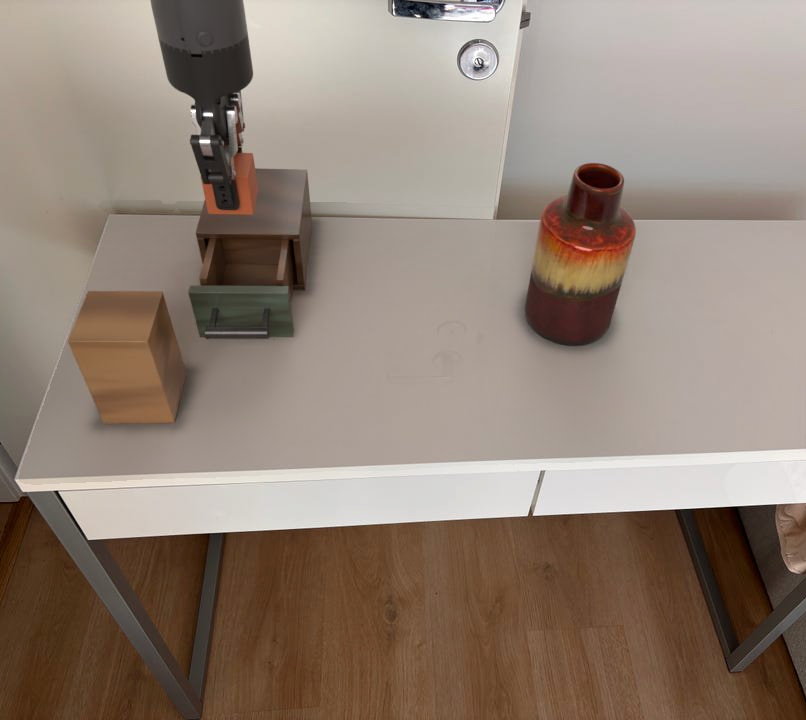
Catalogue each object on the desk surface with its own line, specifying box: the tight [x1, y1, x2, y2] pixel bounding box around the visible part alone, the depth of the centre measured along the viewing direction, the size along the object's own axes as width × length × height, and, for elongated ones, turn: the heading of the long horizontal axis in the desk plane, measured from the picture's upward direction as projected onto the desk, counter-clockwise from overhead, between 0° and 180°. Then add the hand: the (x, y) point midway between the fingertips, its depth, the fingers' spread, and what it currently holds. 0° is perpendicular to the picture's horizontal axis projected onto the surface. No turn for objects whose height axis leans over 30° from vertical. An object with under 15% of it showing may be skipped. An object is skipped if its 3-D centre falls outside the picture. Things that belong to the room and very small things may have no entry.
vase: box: [524, 162, 637, 347], centre depth 87 cm, size 11×11×20 cm
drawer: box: [187, 238, 296, 340], centre depth 87 cm, size 17×10×7 cm, turn 5°
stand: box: [67, 290, 187, 425], centre depth 76 cm, size 7×7×12 cm
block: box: [200, 152, 258, 215], centre depth 77 cm, size 4×4×4 cm
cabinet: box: [195, 167, 313, 291], centre depth 95 cm, size 14×12×9 cm
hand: (232, 192), depth 78 cm, fingers closed on block, 4 cm apart
